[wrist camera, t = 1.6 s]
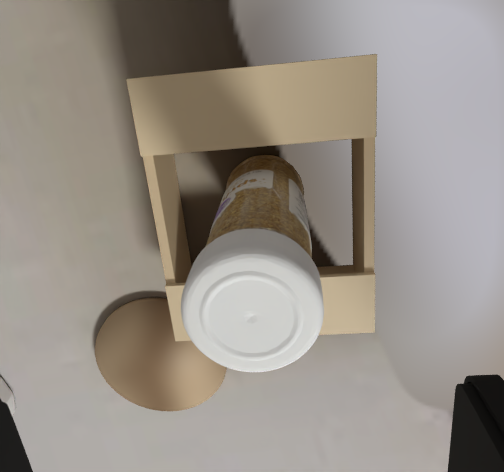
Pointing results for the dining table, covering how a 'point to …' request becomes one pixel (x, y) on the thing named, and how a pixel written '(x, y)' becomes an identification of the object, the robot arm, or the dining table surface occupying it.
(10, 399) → the white cup
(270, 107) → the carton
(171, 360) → the coaster
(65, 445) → the dining table surface
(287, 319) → the sprinkles bottle
